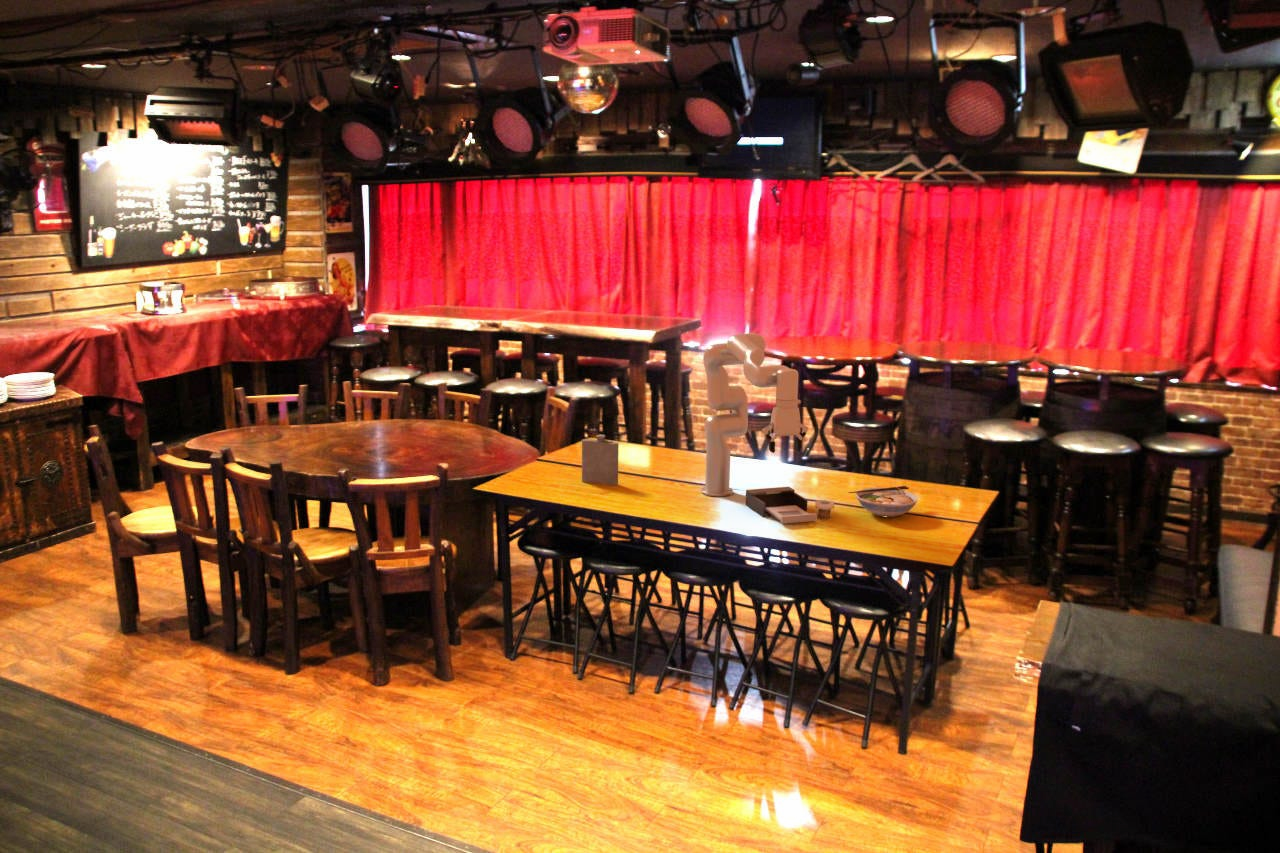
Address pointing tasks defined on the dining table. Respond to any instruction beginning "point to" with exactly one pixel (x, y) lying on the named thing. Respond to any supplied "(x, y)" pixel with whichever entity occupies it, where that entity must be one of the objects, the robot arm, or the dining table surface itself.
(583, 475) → the hip flask
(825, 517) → the brown cube
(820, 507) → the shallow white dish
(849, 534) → the dining table surface
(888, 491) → the ramen bowl
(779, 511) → the tray
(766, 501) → the tray
